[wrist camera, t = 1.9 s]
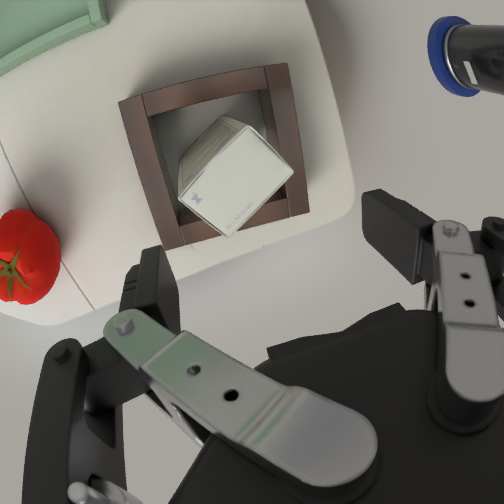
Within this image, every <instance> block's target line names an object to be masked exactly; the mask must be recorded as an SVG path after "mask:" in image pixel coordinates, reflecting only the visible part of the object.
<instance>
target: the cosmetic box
mask: <svg viewBox="0 0 504 504" xmlns="http://www.w3.org/2000/svg"><path fill="white" fill-rule="evenodd" d="M293 172H294V171H293V170H292V168H291V167H290V166H289V165H288V164H287V163H286V162H285V161H284V160H283V159H282V157H281V156H280V155H279V154H278V153H277V152H276V151H275V150H274V149H273V148H272V146H271V145H270V144H269V143H268V142H267V141H266V140H265V139H264V138H263V137H262V136H261V135H260V134H259V133H258V132H257V131H256V130H255V129H254V128H253V127H251V126H250V125H247V124H245V123H242V122H240V121H238V120H235V119H233V118H230V117H228V116H225V115H222V116H221V117H220V118H218V119H217V120H216V121H215V122H214V123H213V124H212V125H211V126H210V127H209V128H208V129H207V130H206V131H205V132H204V133H203V134H202V135H201V136H200V137H199V138H198V139H197V140H196V141H195V142H194V144H193V145H192V146H191V147H190V148H189V149H188V150H187V151H186V152H185V153H184V155H183V156H182V157H181V158H180V159H179V177H178V200H179V201H181V202H182V203H183V204H184V205H185V206H186V207H188V208H189V209H190V210H191V211H193V212H194V213H195V214H196V215H197V216H199V217H200V218H201V219H202V220H204V221H205V222H206V223H207V224H208V225H210V226H211V227H212V228H214V229H215V230H216V231H218V232H219V233H221V234H222V235H223V236H224V237H226V238H229V237H230V236H231V235H232V234H234V233H235V232H236V231H237V230H238V229H239V228H240V227H241V226H242V225H243V224H244V223H245V222H246V221H247V220H248V219H249V218H250V217H251V216H252V215H253V214H254V213H255V212H256V211H257V210H258V209H259V208H260V207H261V206H262V205H263V204H264V203H265V202H266V201H267V200H268V199H269V198H270V197H271V196H272V195H273V194H274V193H275V192H276V191H277V190H278V189H279V188H280V187H281V186H282V185H283V184H284V183H285V182H286V181H287V179H288V178H289V177H290V176H291V175H292V174H293Z"/></svg>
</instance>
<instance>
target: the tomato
mask: <svg viewBox="0 0 504 504" xmlns="http://www.w3.org/2000/svg"><path fill="white" fill-rule="evenodd" d="M60 260H61V251H60V246H59V242H58V239H57V237H56V236H55V234H54V232H53V231H52V229H51V228H50V227H49V226H48V225H47V224H46V223H45V222H44V221H42V220H40V219H38V218H37V217H36V216H35V215H34V214H33V213H32V212H31V211H28V210H25V209H17V210H10V211H8V212H6V213H5V214H4V215H3V216H2V218H1V219H0V299H1V300H3V301H5V302H8V301H11V302H12V301H17V302H19V303H20V304H24V305H28V304H32V303H35V302H37V301H39V300H40V299H42V298H43V297H44V296H45V295H46V294H48V292H49V291H50V289H51V288H52V287H53V285H54V283H55V280H56V278H57V276H58V273H59V270H60Z"/></svg>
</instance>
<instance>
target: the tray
mask: <svg viewBox="0 0 504 504" xmlns="http://www.w3.org/2000/svg"><path fill="white" fill-rule="evenodd" d="M105 25H108V19H107V14H106V8H105V3H104V0H0V77H1V76H2V75H4V74H5V73H7V72H9V71H10V70H12V69H14V68H16V67H17V66H19V65H21V64H23V63H24V62H26V61H28V60H30V59H32V58H34V57H35V56H37V55H39V54H41V53H43V52H45V51H47V50H49V49H51V48H53V47H55V46H58V45H60V44H62V43H64V42H66V41H68V40H71V39H73V38H75V37H78V36H80V35H82V34H85V33H87V32H90V31H92V30H95V29H97V28H100V27H103V26H105Z"/></svg>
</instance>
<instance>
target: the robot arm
mask: <svg viewBox="0 0 504 504" xmlns="http://www.w3.org/2000/svg"><path fill="white" fill-rule="evenodd" d="M442 55H443V60H444V64H445V67H446V69H447V71H448V73H449V75H450V76H451V78H452V79H453V80H454V81H455V82H456V83H457V84H458V85H459V86H461V87H463V88H468V89H477V90H482V91H487V92H492V93H496V94H501V95H504V26H503V25H463V24H458V25H452V26H450V27H449V28H448V29H447V30H446V31H445V33H444V36H443V40H442ZM362 229H363V234H364V237H365V239H366V240H367V242H368V243H369V244H371V246H373V247H374V248H375V249H376V250H377V251H378V252H379V253H380V254H381V255H382V256H383V257H384V258H385V259H386V260H387V261H388V262H390V264H392V265H393V266H394V267H395V268H396V269H397V270H398V271H399V272H400V273H401V274H402V275H403V276H404V277H405V278H406V279H407V280H408V281H409V282H410V283H411V284H412V285H414V284H416V283H419V282H421V281H424V280H425V281H426V282H425V288H424V310H407V311H406V310H405V309H404V308H403V307H402V306H401V305H400V303H396V304H393V305H391V306H388V307H386V308H383V309H380V310H378V311H375V312H372V313H370V314H368V315H367V316H365V317H364V318H362V319H361V320H359V321H358V322H356V323H355V324H353V325H351V326H350V327H348V328H347V329H345V330H344V331H341V332H336V333H329V334H322V335H314V336H307V337H301V338H297V339H294V340H291V341H288V342H285V343H282V344H278V345H275V346H271V347H268V348H267V353H268V357H269V359H268V360H266V361H264V362H262V363H261V364H260V365H258V366H257V367H255V368H254V369H252V368H250V367H248V366H247V365H245V364H243V363H241V362H239V361H238V360H236V359H234V358H232V357H231V356H229V355H227V354H225V353H224V352H222V351H220V350H219V349H217V348H215V347H213V346H212V345H210V344H208V343H207V342H205V341H203V340H202V339H200V338H198V337H197V336H195V335H194V334H192V333H190V332H188V331H186V330H183V331H182V332H181V328H180V310H179V293H178V288H177V284H176V281H175V278H174V275H173V272H172V270H171V267H170V264H169V262H168V259H167V256H166V253H165V251H164V248H163V246H162V245H158V246H154V247H151V248H147V249H144V250H142V254H141V260H140V264H138V265H134V266H132V268H131V269H130V270H129V272H128V273H127V274H126V278H125V282H124V284H125V285H124V287H123V292H122V297H121V302H120V308H119V313H118V314H116V315H114V316H113V317H112V318H111V319H110V320H109V321H108V322H107V323H106V325H105V327H104V330H103V335H104V337H103V338H101V339H99V340H97V341H95V342H93V343H91V344H89V345H87V346H85V347H82V346H81V344H80V343H79V342H78V340H76V339H73V338H69V339H64V340H61V341H59V342H57V343H56V344H55V345H53V346H52V347H51V348H50V349H49V351H48V352H47V354H46V355H45V358H44V362H43V365H42V369H41V373H40V378H39V382H38V386H37V391H36V396H35V400H34V406H33V411H32V416H31V422H30V427H29V434H28V441H27V448H26V456H25V464H24V475H23V487H22V488H23V489H22V504H143V503H142V502H141V501H140V500H139V499H138V498H137V497H135V496H134V495H132V494H130V493H129V492H127V485H126V474H125V461H124V443H123V416H122V415H123V413H122V404H123V403H125V402H127V401H129V400H131V399H133V398H135V397H137V396H139V395H142V394H144V395H145V396H146V397H147V398H148V399H149V400H150V401H151V402H152V403H153V404H154V405H155V406H156V407H158V408H159V409H160V410H161V411H162V412H163V413H164V414H165V415H166V416H167V417H169V418H170V419H171V420H172V421H173V422H174V423H175V424H176V425H178V426H179V427H180V428H181V429H182V430H183V431H184V432H185V433H186V434H187V436H189V437H190V438H191V439H192V440H193V441H194V442H195V443H196V444H197V445H198V446H200V447H201V448H202V449H201V451H200V452H199V454H198V456H197V458H196V459H195V461H194V463H193V464H192V466H191V467H190V469H189V471H188V472H187V474H186V476H185V477H184V479H183V480H182V482H181V484H180V485H179V487H178V489H177V490H176V492H175V493H174V495H173V497H172V498H171V500H170V501H169V503H168V504H504V328H501V327H500V325H499V320H498V316H499V317H500V318H501V319H502V320H503V321H504V276H503V274H504V219H502V218H499V217H486V218H484V220H483V222H482V228H481V231H468V229H467V227H466V226H464V225H463V224H461V223H459V222H456V221H452V220H440V221H435V220H433V219H432V218H431V217H429V216H427V215H426V214H424V213H423V212H421V211H419V210H418V209H417V208H415V207H413V206H412V205H410V204H409V203H407V202H406V201H404V200H400V199H397V198H395V197H393V196H392V195H390V194H388V193H387V192H385V191H384V190H382V189H376V190H372V191H368V192H364V193H363V194H362Z"/></svg>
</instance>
